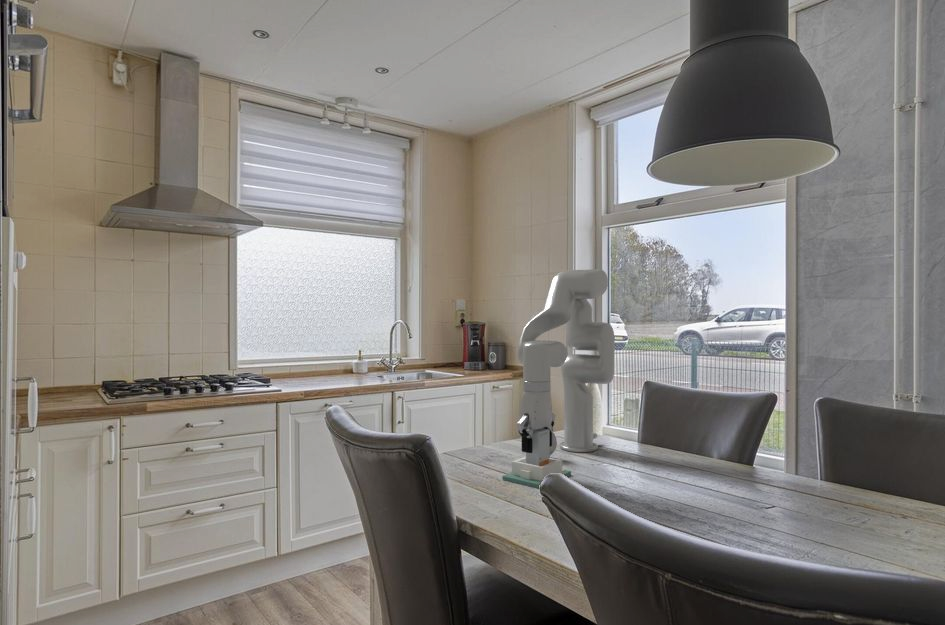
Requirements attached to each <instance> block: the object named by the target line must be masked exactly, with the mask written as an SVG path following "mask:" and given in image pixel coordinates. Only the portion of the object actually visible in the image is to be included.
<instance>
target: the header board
mask: <svg viewBox="0 0 945 625" xmlns="http://www.w3.org/2000/svg"><path fill="white" fill-rule="evenodd" d="M550 473H562V474H564V475H565V476H567V477H569V476H571V475H572V470H567V469H564V468H563V459H558V458H553V457H549V464H547V465H544V466H537V465H532V464H527V463H526V456H524V457H521V458H518V459H515V460H512V461H511V472H509V473H507V474H504V475H502V479H503V481H506V480H507V482H510V481H511V483H514V482H515V484H519V485H522V486H527V485H528V487H532V488H535V489H536V488H537V489H540V488H539V485H540V484H541V482H542V481H543V479H544V477H545V476H546V475H548V474H550ZM568 475H569V476H568Z"/></svg>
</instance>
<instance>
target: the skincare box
mask: <svg viewBox="0 0 945 625" xmlns="http://www.w3.org/2000/svg"><path fill="white" fill-rule="evenodd" d="M526 431H527V432H529V430H526ZM531 438H532V453H526V452H525V457H526V463H527V464H532V465H537V466H544V465H547V464H549V458H550V456H549V447H550V430H549V429H543V428H541V429H538V430H534V431H533V433H532V436H531Z"/></svg>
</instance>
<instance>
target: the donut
mask: <svg viewBox="0 0 945 625" xmlns="http://www.w3.org/2000/svg"><path fill="white" fill-rule="evenodd" d="M557 446H558V441H557V437H556V435H555V433H554V431H553V432H552V446H551V447H549V457H550V456H552V454H554V453H555V451H556V449H557Z"/></svg>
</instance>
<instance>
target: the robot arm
mask: <svg viewBox="0 0 945 625" xmlns="http://www.w3.org/2000/svg"><path fill="white" fill-rule="evenodd" d="M608 279H609V277H608V275H607V273H606V271H604V270H603V269H600V268H599V269H598V268H596V269H593V268H592V269H570V270H569V269H568V270H563V271H560V272H558V273H557V274H556V275H555V276H554V277H553V278H552V280H551V283H550V286H549V289H548V293H547V297H546V300H545V303H544V308H543V309H542V311H541V312H539V313H538V314H537V315H535V316H534V317H533V318H531V320H530V321H528V323H527V324H526V325H525V326H524V328H523V330H522V332H521V336H520V338H519V341H518V346H517V352H516V353H517V354H516V356H517V359H518V362H519V363H520V364H521V365H522V366H523V367H522V369H523V370H522V372H523V373H522V380H523V382H522V386H523V390H522V391H523V392H522V393H521V398H520V404H519V406H520V407H519V421H518V422H517V423H516V426H517V429H518V433H519V437H520V438H521V452H522V453H525V454H526V453H532V438H531V436H532V433H533V431H534V430H538V429H541V428H543V429H549V430H550V447H551V446H552V432H553V433H554V426H555V421H556V420H555V419H556V414H555V413H553V406H552V405H553V404H552V396H551V395H552V394H551V387H552V386H551V383H552V382H551V381H552V380H551V368H557V367H560V369H561V370H560V372H561V376H562V382H563V416H564V417H563V426H564V427H563V428H564V431H563V437H564V438H563V439H564V441H561V442H560V443H559V448H560V449H561V450H563V451H567V452H573V453H574V452H575V453H590V452H594V451H597V450H598V448H599V447H598V444H597V443H595V442H594V439H597V438H598V434H597V433H596V432H594V414H593V413H594V411H593V410H594V409H593V408H594V405H593V404H594V400H593V399H594V398H593V394H592V393H593V392H592V391H591V389H589V387H588V385H587V384H595V385H597V384H599V385H608V384H611V382H612V381H613V380H614V375H615V348H616V347H615V344H616V343H615V331H614V328H613V327H612V325H611V324H610V323H608V322H603V321H601V322H600V321H599V322H596V321H595V322H593V308H592V305H591V303H590V302H589V300H593V299H597V298H598V297H601V296H602V295H604V294H605V292H606V291H607V290H608V285H609V280H608ZM563 325H566V327H565V328H566V330H565V332H566V334H565V335H566V345H567V347H568V348H569V349H570V350H575V351H587V352H588V351H592V352H593V351H594V352H595V351H596V352H598V354H585V353H584V354H581V353H580V354H578V353H577V354H576V353H575V354H568V349H567V347H566V345H565V344H564V343H562V342H560V341H559V340H537V338H539V337H540V336H541V335H542V334H544V333H546V332H549V331H551V330H554V329H556V328H559V327H561V326H563ZM528 430H529V432H527V431H528Z"/></svg>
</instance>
